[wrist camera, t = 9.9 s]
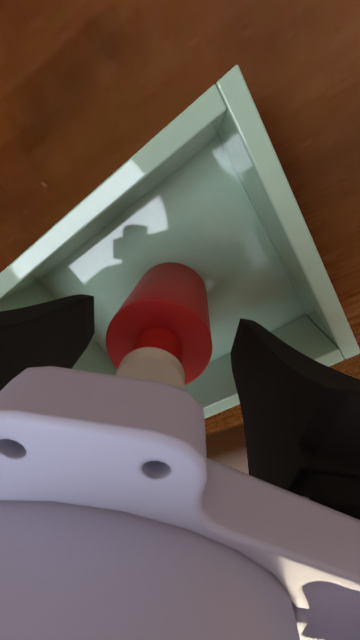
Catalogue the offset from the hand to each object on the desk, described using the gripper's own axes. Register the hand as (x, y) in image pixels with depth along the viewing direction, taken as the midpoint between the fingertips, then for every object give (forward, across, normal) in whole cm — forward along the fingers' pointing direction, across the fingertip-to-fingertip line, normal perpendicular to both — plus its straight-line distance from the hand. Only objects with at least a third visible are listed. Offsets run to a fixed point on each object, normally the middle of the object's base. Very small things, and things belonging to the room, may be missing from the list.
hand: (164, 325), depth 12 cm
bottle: (+4, 0, 0) cm, 4 cm away
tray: (+4, 0, 0) cm, 4 cm away
